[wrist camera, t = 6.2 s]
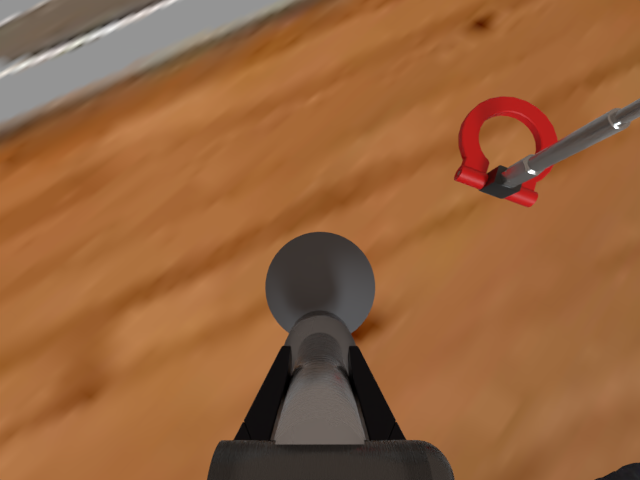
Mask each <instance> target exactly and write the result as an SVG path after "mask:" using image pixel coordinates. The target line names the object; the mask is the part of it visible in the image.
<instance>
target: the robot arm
mask: <svg viewBox="0 0 640 480" xmlns="http://www.w3.org/2000/svg"><path fill="white" fill-rule="evenodd" d="M291 373H292V350H291V346H282V347H281V348H280V350H279V352H278V354H277V356H276V358H275V360H274V362H273V364H272V366H271V368H270V370H269V372H268V374H267V376H266V378H265V380H264V382H263V384H262V386H261V388H260V389H259V391H258V393H257V395H256V397H255V399H254V401H253V403H252V405H251V407H250V409H249V411H248V413H247V415H246V417H245V419H244V422H242V424H241V426H240V428H239V430H238V432H237V434H236V436H235V438H234V439H233V440H274V437H275V434H276V430H277V426H278V423H279V419H280V416H281V412H282V408H283V405H284V401H285V397H286V394H287V390H288V386H289V383H290V379H291ZM348 376H349V380H350V384H351V387H352V391H353V395H354V398H355V402H356V406H357V409H358V413H359V417H360V420H361V424H362V428H363V431H364V435H365V439H366V440H406V438H405V436H404V434H403V433H402V431H401V429H400V427H399V425H398V423H397V422H396V419H395V417H394V415H393V413H392V411H391V409H390V407H389V406H388V404H387V402H386V400H385V398H384V396H383V394H382V392H381V390H380V388H379V386H378V384H377V382H376V380H375V378H374V376H373V374H372V372H371V370H370V368H369V366H368V364H367V363H366V361H365V359H364V357H363V355H362V353H361V351H360V349H359V347H358V346H349V349H348Z"/></svg>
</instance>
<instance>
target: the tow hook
mask: <svg viewBox="0 0 640 480" xmlns="http://www.w3.org/2000/svg"><path fill="white" fill-rule="evenodd" d="M496 116H509V117H512V118H515V119H517V120H519V121H521V122H522V123H523V124H525V125H526V126H527V127H528V128H529V130H530V131H531V133H532V134H533V137H534V140H535V144H536V152H535V155H534V154H530V155H528V156H526V157H525V158H523V159H521V160H520V161H518V162H516V163H515V164H513V165H511V166H510V167H508V168H507V167H504V166H502V165H499V166H498V167H496V168H494V169H493V170H491V171H490V172H488V173H487V170H488V167H489V160H488V159H487V158H486V157H485V155H484V154H483V152H482V150H481V147H480V144H479V132H480V128H481V126H482V125H483V123H484V122H485V121H486V120H488V119H490V118H492V117H496ZM638 117H640V98H639V99H638V100H636V101H634V102H632V103H631V104H629V105H627V106H625V107H624V108H622V109H621V108H614V109H612V110H610V111H608V112H607V113H605V114H603V115H602V116H600V117H598V118H596V119H595V120H593V121H591V122H590V123H588V124H586V125H585V126H583V127H581V128H579V129H578V130H576V131H574V132H573V133H571V134H569V135H567V136H566V137H564V138H562V139H561V140H559V141H558V139H557V135H556V133H555V130H554V127H553V125H552V124H551V122H550V121H549V119H548V118H547V116H546V115H545V114H544V113H543V112H542V111H541V110H540V109H538V108H537V107H536V106H534V105H532V104H531V103H529V102H527V101H525V100H522V99H519V98H515V97H506V96H500V97H495V98H490V99H487V100H485V101H483V102H481V103H479V104H478V105H477V106H476V107H475V108H474V109H472V110H471V111H470V112H469V113H468V115H467V116H466V118H465V119H464V121H463V122H462V124H461V127H460V131H459V135H458V146H459V150H460V154H461V157H462V159H463V161H462V164H461V166H460V167H459V168H458V170H457V171H456V173H455V176H454V180H455V181H457V182H460V183H463V184H465V185H468V186H471V187H474V188H476V189H478V190H479V191H481V192H483V193H486V194H489V195H492V196H494V197H497V198H500V199H506V200H509V201H511V202H514V203H517V204H520V205H522V206H525V207H531V206H532V205H533V204H534V203H535V202H536V201H537V198H538V193H537V192H535V191H534V190H535V186H536V182H538V181H540V180H542V179H543V178H544V177H545V176H546V175H547V174H548V173H549V172H550V171H551V169H552V168H553V166H554V164H556V163H558V162H560V161H562V160H564V159H566V158H568V157H570V156H572V155H574V154H576V153H578V152H580V151H582V150H584V149H586V148H588V147H590V146H592V145H594V144H596V143H598V142H600V141H602V140H604V139H606V138H608V137H610V136H612V135H614V134H616V133H618V132H620V131H622V130H624V129H626V128H628V127H629V125H630V123H631V121H633V120H635V119H636V118H638ZM486 173H487V174H486Z"/></svg>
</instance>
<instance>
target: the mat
mask: <svg viewBox="0 0 640 480" xmlns="http://www.w3.org/2000/svg"><path fill="white" fill-rule="evenodd" d="M265 292H266V299H267V303H268V306H269V309H270V311H271V313H272V315H273V317H274V318H275V320H276V321H277V322H278V324H279V325H280V326H281V327H282V328H283V329H284V330H286V331H287V332H288V333H290V331H291V329H292V327H293V325H294V324H295V322H296V321H297V320H298V319H299V318H300V317H301V316H303V315H304V314H306V313H309V312H311V311H317V310H323V311H328V312H331V313H333V314H335V315H337V316H338V317H340V318H341V319H342V320H343V321H344V322H345V324H346V325H347V327H348V329H349V331H350V333H352V332H354V331H355V330H356V329H357V328H358V327H359V326H360V325H361V324H362V323H363V322H364V320H365V319H366V318H367V316H368V314H369V312H370V310H371V307H372V305H373V301H374V297H375V278H374V274H373V270H372V267H371V265H370V262H369V261H368V259H367V257H366V256H365V254H364V253H363V252H362V250H361V249H360V248H359V247H358V246H357V245H355V244H354V243H353V242H351V241H350V240H348V239H346V238H345V237H342V236H340V235H337V234H334V233H329V232H311V233H307V234H303V235H301V236H298V237H296V238H294V239H292V240H291V241H289V242H288V243H286V244H285V245H284V246H283V247H282V248H281V249H280V250H279V251H278V252H277V254H276V255H275V257H274V258H273V260H272V262H271V264H270V266H269V269H268V272H267V276H266V282H265Z"/></svg>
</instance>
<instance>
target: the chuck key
mask: <svg viewBox="0 0 640 480" xmlns="http://www.w3.org/2000/svg"><path fill="white" fill-rule="evenodd" d="M284 346H291V350H292V373H291V379H290V383H289V386H288V390H287V394H286V397H285V401H284V405H283V408H282V412H281V416H280V419H279V423H278V426H277V430H276V434H275V437H274V440H221V441H220V442H219V443H218V445H217V447H216V449H215V451H214V454H213V457H212V460H211V463H210V467H209V471H208V476H207V480H455V478H454V474H453V470H452V468H451V465H450V463H449V462H448V460H447V458H446V457H445V456H444V454H443V453H442V452H441V451H440V450H439V449H438V448H437V447H436V446H434V445H432V444H431V443H429V442H426V441H421V440H366V439H365V435H364V431H363V428H362V424H361V420H360V417H359V413H358V409H357V406H356V402H355V398H354V395H353V391H352V387H351V384H350V380H349V376H348V349H349V346H356V344H355V341H354V339H353V337H352V335H351V333H350V331H349V329H348V327H347V325H346V324H345V322H344V321H343V320H342V319H341V318H340V317H338V316H337V315H335V314H333V313H331V312H328V311H323V310H317V311H311V312H309V313H306V314H304V315H303V316H301V317H300V318H299V319H298V320H297V321H296V322H295V324H294V325H293V327H292V329H291V331H290V333H289V335H288V337H287V339H286V341H285V344H284Z"/></svg>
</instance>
